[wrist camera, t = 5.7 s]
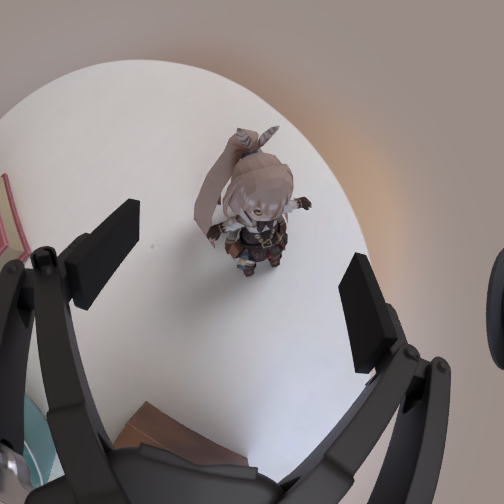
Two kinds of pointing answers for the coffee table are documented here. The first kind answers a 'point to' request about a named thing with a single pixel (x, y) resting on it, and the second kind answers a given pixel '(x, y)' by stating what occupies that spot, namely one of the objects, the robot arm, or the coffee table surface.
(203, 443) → the walnut block
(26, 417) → the bowl
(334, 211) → the coffee table surface
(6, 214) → the book
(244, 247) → the toy
